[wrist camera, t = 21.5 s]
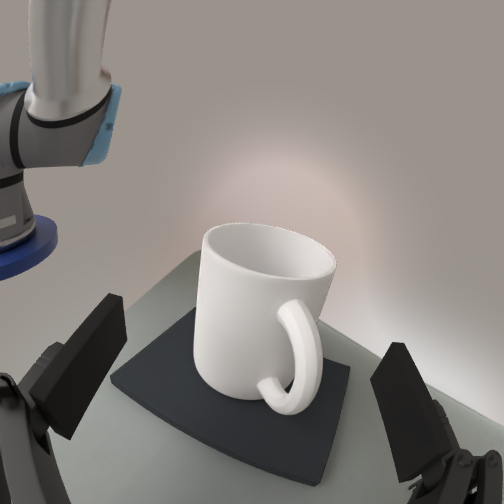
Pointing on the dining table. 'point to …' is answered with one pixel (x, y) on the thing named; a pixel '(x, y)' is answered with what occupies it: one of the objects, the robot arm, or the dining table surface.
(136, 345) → the dining table surface
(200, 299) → the mug
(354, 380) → the dining table surface
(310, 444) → the placemat
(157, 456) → the dining table surface
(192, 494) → the dining table surface
